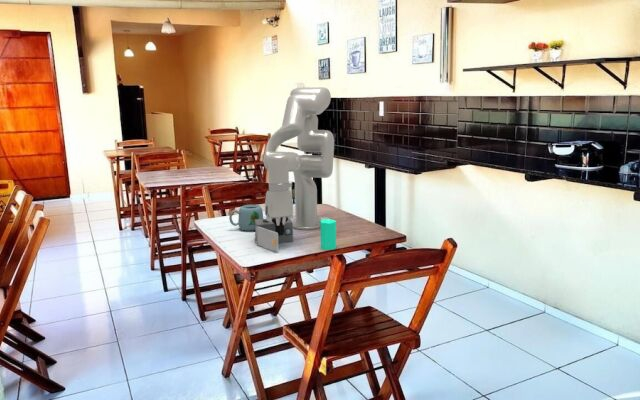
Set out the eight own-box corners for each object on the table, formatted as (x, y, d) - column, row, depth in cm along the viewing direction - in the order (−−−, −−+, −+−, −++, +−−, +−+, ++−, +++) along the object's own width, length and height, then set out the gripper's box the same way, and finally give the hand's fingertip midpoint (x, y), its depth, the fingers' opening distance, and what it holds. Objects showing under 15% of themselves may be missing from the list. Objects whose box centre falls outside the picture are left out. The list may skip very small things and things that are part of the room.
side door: (278, 251, 195) (278, 232, 194) (275, 252, 194) (274, 233, 193) (258, 243, 205) (257, 225, 204) (255, 244, 204) (254, 226, 203)
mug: (233, 234, 221) (232, 211, 219) (226, 228, 231) (225, 206, 229) (267, 230, 227) (266, 207, 224) (259, 224, 236) (259, 202, 234)
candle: (320, 245, 204) (319, 215, 201) (335, 245, 204) (335, 215, 202) (321, 250, 198) (321, 219, 196) (337, 249, 198) (337, 218, 196)
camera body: (289, 236, 217) (288, 215, 215) (293, 242, 208) (292, 220, 206) (255, 238, 214) (254, 217, 212) (257, 244, 205) (257, 223, 203)
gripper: (292, 184, 204) (293, 230, 207) (256, 187, 197) (257, 235, 201) (301, 187, 197) (301, 234, 201) (264, 190, 190) (265, 239, 194)
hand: (279, 234), depth 201 cm, fingers closed
